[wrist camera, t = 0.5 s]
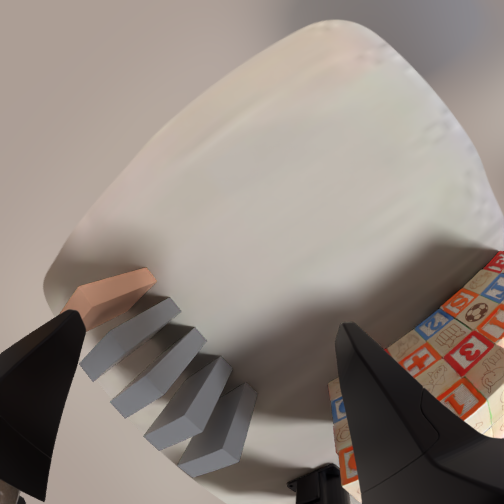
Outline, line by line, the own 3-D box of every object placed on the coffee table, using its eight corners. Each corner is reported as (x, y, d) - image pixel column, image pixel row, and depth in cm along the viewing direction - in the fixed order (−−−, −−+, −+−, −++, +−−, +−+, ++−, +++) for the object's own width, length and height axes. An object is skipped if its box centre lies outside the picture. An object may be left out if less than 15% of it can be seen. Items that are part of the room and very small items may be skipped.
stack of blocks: (498, 247, 18) (588, 261, 6) (513, 297, 18) (590, 328, 6) (325, 383, 22) (339, 489, 10) (354, 423, 22) (375, 518, 10)
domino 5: (257, 393, 23) (239, 461, 14) (220, 414, 24) (192, 477, 15) (246, 382, 23) (222, 448, 14) (209, 404, 24) (176, 465, 15)
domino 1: (157, 281, 23) (92, 307, 15) (127, 311, 24) (64, 343, 15) (146, 267, 23) (78, 286, 15) (117, 298, 24) (52, 324, 15)
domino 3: (207, 340, 23) (163, 394, 14) (172, 366, 24) (125, 418, 15) (195, 327, 23) (145, 375, 14) (161, 353, 24) (109, 401, 15)
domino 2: (181, 311, 23) (126, 352, 14) (149, 339, 24) (93, 382, 15) (169, 297, 23) (109, 330, 15) (138, 326, 24) (78, 363, 15)
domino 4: (232, 368, 23) (202, 431, 14) (197, 391, 24) (159, 450, 15) (220, 355, 23) (184, 415, 14) (185, 379, 24) (143, 436, 15)
